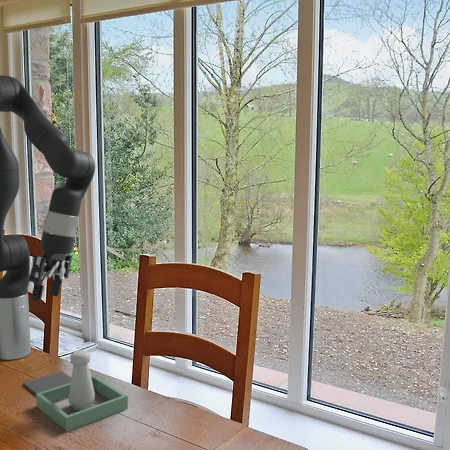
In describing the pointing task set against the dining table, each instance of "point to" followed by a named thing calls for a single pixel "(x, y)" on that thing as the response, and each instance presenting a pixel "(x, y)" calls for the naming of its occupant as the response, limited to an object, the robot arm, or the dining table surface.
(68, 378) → the rubber mat
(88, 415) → the square frame
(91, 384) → the salt shaker
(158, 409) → the dining table surface
